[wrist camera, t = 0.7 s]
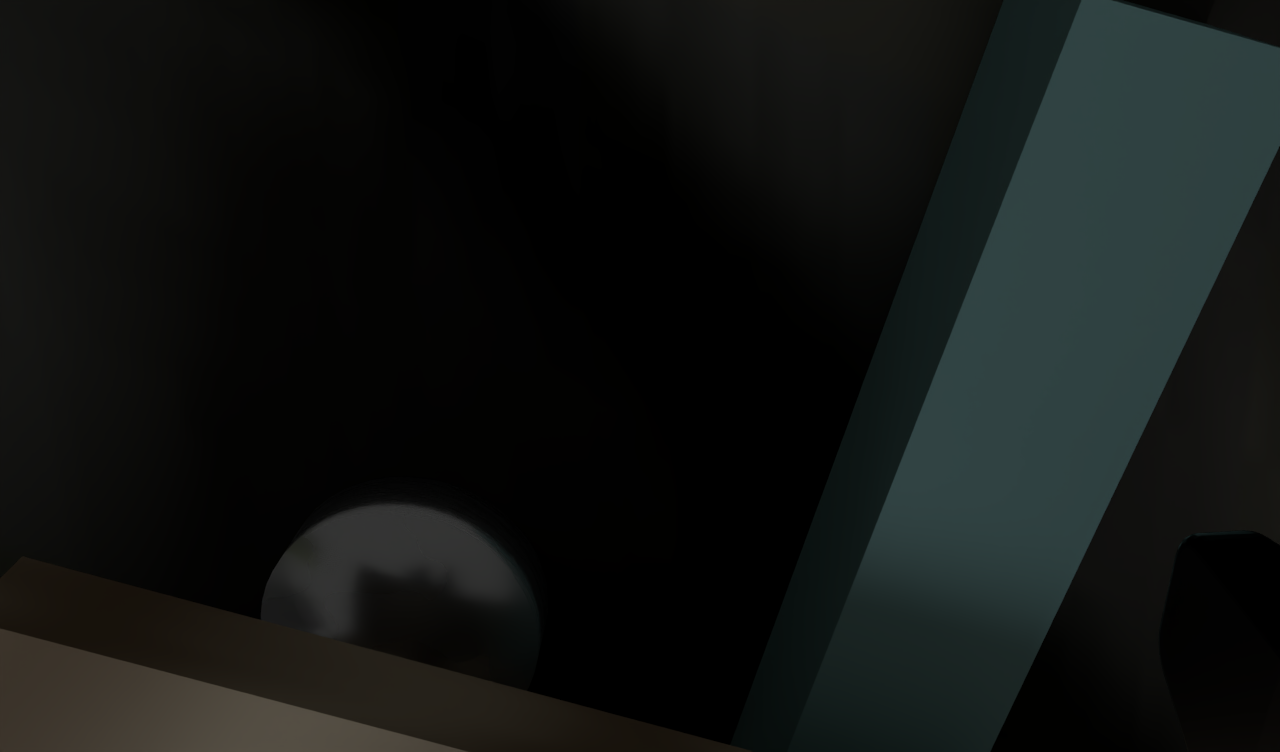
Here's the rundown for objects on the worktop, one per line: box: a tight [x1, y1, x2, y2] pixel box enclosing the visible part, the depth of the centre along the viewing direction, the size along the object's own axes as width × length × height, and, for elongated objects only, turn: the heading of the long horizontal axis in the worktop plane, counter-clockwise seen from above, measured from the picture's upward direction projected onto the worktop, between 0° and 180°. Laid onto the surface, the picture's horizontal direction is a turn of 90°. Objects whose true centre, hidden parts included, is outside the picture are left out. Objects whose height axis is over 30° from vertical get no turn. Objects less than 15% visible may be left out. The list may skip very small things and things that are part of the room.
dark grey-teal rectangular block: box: [730, 0, 1280, 752], centre depth 20 cm, size 3×17×4 cm, turn 165°
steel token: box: [261, 477, 549, 691], centre depth 22 cm, size 5×5×2 cm
